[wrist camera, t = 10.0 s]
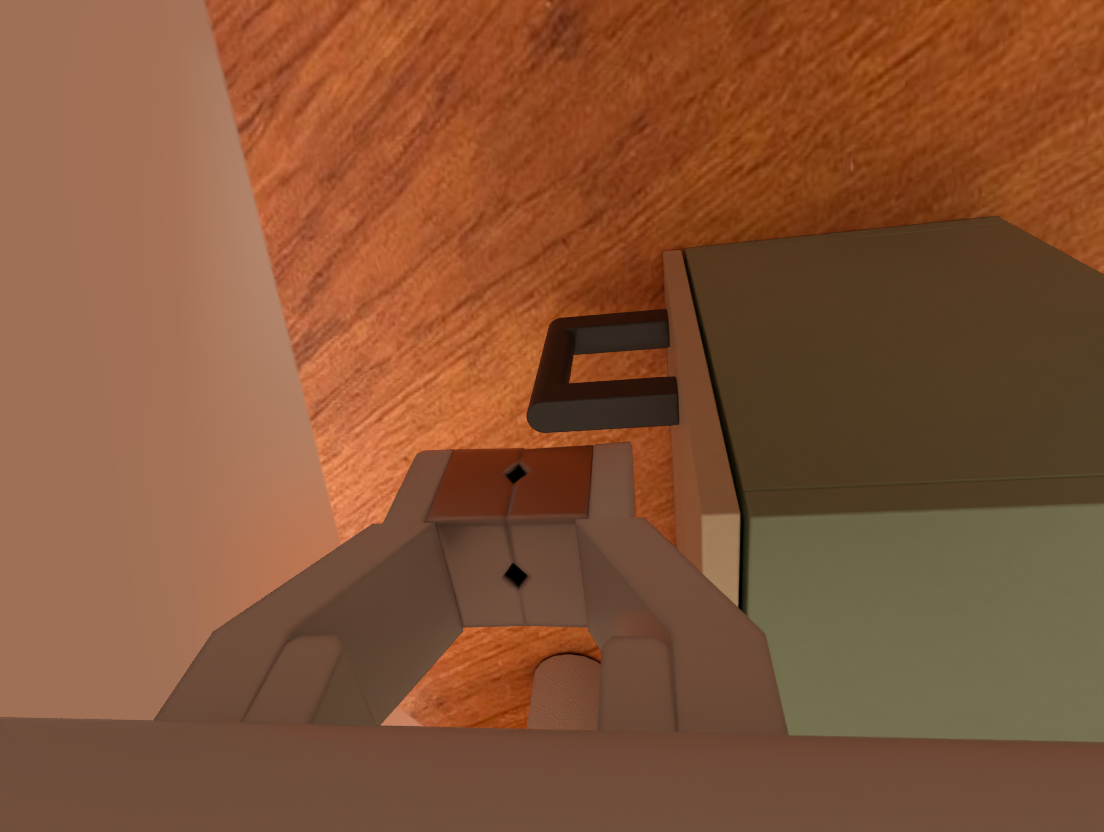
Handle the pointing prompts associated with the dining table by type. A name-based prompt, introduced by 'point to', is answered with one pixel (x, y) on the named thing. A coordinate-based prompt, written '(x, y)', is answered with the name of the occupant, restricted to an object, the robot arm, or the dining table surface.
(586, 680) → the paper towel roll
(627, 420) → the cupboard door
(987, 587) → the cupboard
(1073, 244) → the dining table surface
